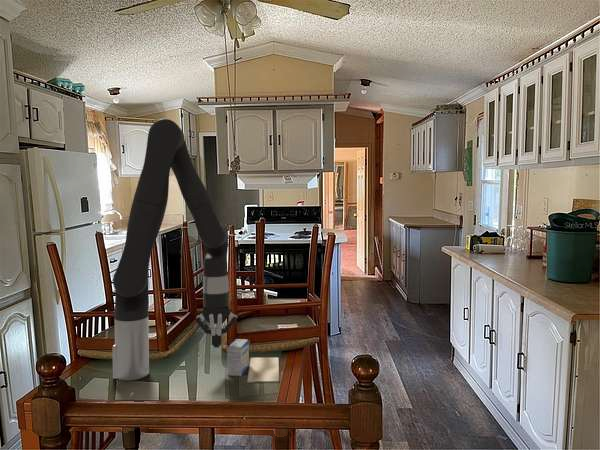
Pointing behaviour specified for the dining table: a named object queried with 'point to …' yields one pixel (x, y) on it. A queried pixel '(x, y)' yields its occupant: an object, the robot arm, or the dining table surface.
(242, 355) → the medicine box
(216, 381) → the dining table surface
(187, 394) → the dining table surface
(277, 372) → the board
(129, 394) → the dining table surface
